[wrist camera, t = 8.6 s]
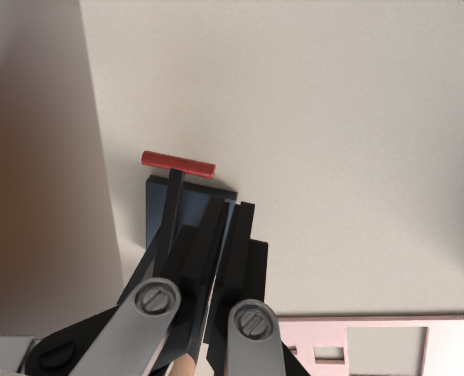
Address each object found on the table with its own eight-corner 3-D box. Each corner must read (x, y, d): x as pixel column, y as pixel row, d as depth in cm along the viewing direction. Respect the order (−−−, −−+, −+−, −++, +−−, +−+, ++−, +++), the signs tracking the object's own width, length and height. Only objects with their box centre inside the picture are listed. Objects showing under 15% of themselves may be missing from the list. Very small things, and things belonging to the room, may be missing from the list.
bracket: (150, 174, 34) (80, 263, 23) (237, 192, 34) (212, 293, 22) (150, 251, 41) (95, 352, 29) (223, 267, 40) (198, 376, 29)
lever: (150, 150, 27) (139, 150, 24) (217, 164, 26) (213, 165, 24) (125, 308, 29) (113, 322, 26) (187, 322, 28) (180, 338, 26)
